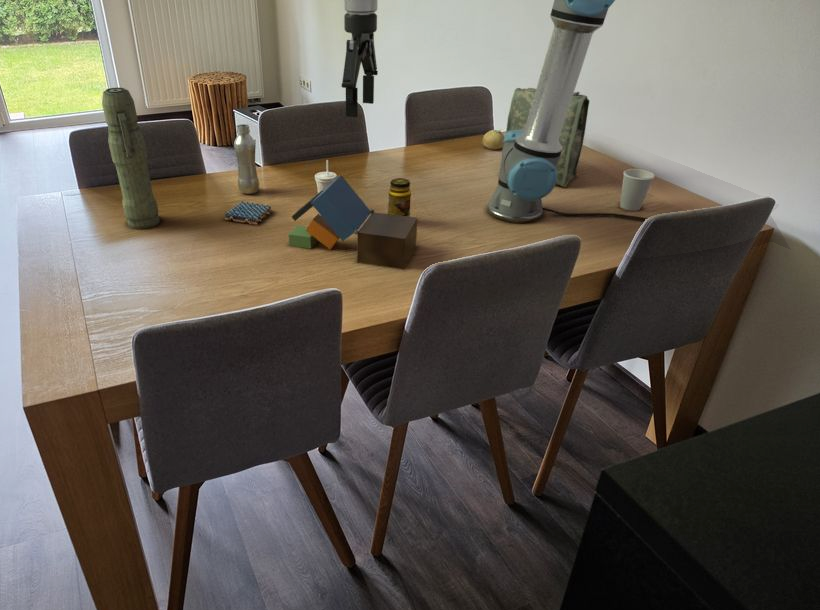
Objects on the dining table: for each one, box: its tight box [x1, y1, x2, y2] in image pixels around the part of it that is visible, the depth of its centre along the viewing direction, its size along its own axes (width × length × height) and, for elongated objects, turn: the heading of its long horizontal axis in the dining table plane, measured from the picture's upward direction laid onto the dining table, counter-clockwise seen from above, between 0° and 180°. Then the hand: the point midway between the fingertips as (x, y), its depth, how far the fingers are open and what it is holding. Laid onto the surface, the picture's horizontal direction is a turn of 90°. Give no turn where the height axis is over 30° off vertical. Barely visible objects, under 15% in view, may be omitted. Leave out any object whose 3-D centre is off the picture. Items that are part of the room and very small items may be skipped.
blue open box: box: [291, 174, 372, 242], centre depth 154 cm, size 12×12×14 cm
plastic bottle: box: [233, 123, 260, 195], centre depth 184 cm, size 6×7×20 cm
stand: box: [353, 208, 419, 270], centre depth 152 cm, size 12×14×8 cm
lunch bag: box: [505, 87, 590, 188], centre depth 194 cm, size 22×16×27 cm
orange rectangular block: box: [306, 213, 340, 250], centre depth 157 cm, size 4×4×8 cm
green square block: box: [288, 224, 319, 249], centre depth 160 cm, size 3×6×6 cm
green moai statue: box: [101, 87, 161, 230], centre depth 161 cm, size 9×12×35 cm
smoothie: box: [314, 159, 338, 194], centre depth 176 cm, size 6×6×14 cm
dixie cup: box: [619, 168, 656, 212], centre depth 177 cm, size 8×8×10 cm
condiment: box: [387, 177, 412, 217], centre depth 168 cm, size 7×8×12 cm
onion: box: [482, 128, 505, 151], centre depth 224 cm, size 8×8×7 cm
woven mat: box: [224, 200, 273, 226], centre depth 174 cm, size 10×11×2 cm
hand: (360, 109), depth 152 cm, fingers open, 13 cm apart
